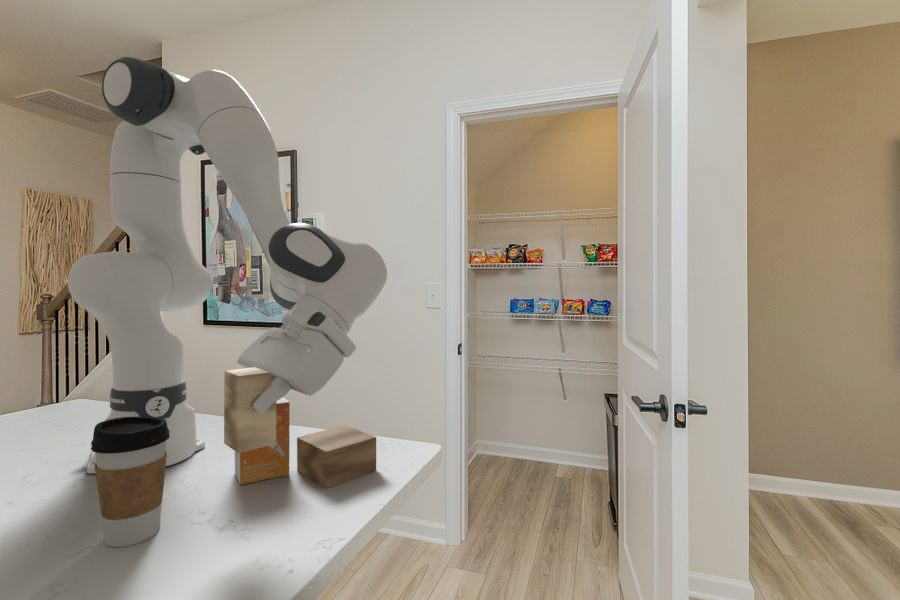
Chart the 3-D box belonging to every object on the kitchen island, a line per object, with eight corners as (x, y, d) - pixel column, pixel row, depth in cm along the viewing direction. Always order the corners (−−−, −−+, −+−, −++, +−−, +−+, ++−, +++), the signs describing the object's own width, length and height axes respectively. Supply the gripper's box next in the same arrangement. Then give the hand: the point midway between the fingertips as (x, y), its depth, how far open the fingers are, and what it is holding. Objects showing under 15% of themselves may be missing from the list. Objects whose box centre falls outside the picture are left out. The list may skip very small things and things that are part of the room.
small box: (239, 486, 73) (239, 408, 72) (234, 473, 78) (233, 399, 78) (290, 475, 77) (290, 401, 77) (282, 463, 82) (281, 393, 82)
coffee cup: (120, 519, 62) (118, 413, 62) (183, 517, 63) (182, 412, 62) (74, 555, 54) (72, 432, 53) (147, 551, 54) (146, 431, 54)
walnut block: (297, 470, 79) (297, 437, 79) (345, 455, 86) (345, 425, 86) (326, 488, 72) (326, 451, 72) (376, 470, 79) (376, 437, 79)
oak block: (224, 443, 60) (224, 370, 60) (260, 434, 64) (261, 366, 64) (238, 453, 57) (238, 376, 57) (276, 443, 61) (276, 371, 60)
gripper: (268, 311, 72) (202, 378, 65) (335, 319, 58) (260, 406, 51) (293, 336, 75) (233, 403, 69) (363, 350, 61) (296, 435, 55)
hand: (245, 405), depth 60 cm, fingers closed on oak block, 5 cm apart
